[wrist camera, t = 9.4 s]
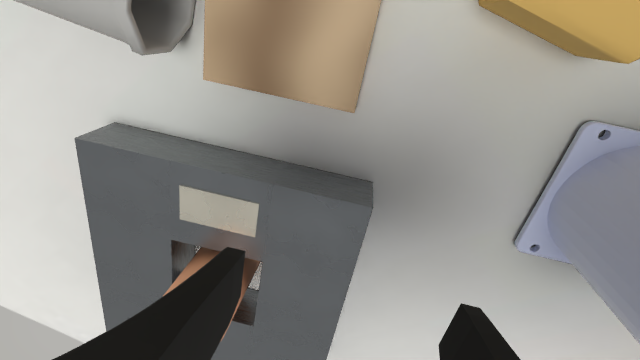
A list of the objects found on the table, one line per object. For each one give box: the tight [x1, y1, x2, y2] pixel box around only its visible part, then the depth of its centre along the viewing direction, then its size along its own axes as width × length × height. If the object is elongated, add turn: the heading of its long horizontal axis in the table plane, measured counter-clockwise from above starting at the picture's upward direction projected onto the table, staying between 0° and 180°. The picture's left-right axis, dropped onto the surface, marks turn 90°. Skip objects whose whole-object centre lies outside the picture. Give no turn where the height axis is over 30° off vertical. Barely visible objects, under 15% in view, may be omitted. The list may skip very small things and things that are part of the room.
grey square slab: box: [75, 123, 373, 360], centre depth 22 cm, size 16×16×3 cm
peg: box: [163, 247, 260, 342], centre depth 20 cm, size 4×4×6 cm
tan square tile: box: [203, 0, 381, 113], centre depth 15 cm, size 8×8×1 cm
